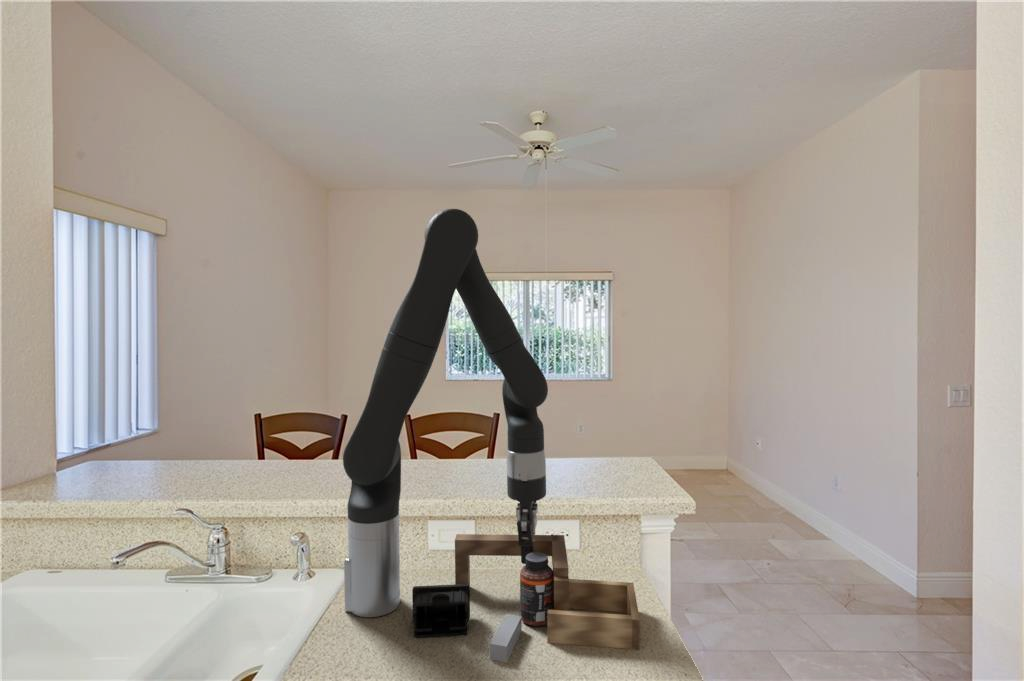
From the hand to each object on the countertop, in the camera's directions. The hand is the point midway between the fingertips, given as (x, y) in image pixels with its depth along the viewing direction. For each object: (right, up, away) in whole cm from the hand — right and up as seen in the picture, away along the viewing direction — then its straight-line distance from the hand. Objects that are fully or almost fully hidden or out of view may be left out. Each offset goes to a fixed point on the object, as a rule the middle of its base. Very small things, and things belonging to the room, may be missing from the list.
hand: (527, 558), depth 111 cm
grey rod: (-4, -8, -17) cm, 19 cm away
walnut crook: (-4, -7, -6) cm, 10 cm away
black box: (-15, -8, -11) cm, 21 cm away
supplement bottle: (+1, -7, -9) cm, 12 cm away
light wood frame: (+11, -7, -11) cm, 17 cm away
